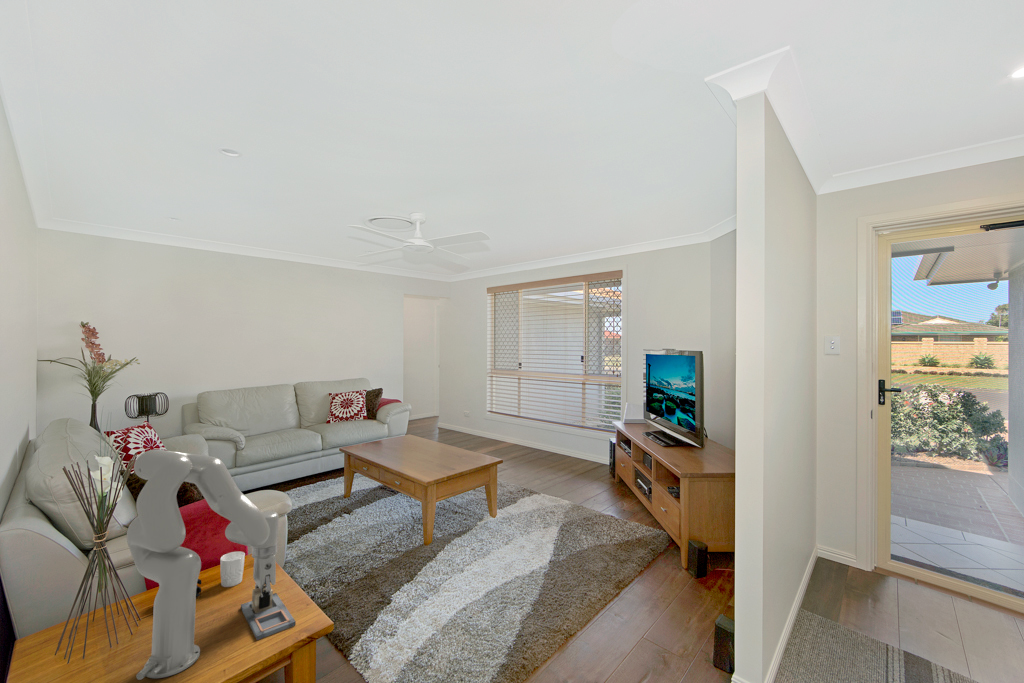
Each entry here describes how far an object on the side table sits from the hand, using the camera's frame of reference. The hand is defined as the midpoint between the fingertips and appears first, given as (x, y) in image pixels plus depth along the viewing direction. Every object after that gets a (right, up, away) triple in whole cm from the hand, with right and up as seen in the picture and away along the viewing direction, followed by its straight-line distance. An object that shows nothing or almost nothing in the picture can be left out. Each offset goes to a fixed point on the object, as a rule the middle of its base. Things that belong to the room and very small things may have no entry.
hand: (261, 603), depth 148 cm
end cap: (-32, -2, +5) cm, 32 cm away
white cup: (-22, -3, +17) cm, 28 cm away
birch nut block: (0, -2, 0) cm, 2 cm away
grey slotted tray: (+4, -3, -4) cm, 6 cm away
